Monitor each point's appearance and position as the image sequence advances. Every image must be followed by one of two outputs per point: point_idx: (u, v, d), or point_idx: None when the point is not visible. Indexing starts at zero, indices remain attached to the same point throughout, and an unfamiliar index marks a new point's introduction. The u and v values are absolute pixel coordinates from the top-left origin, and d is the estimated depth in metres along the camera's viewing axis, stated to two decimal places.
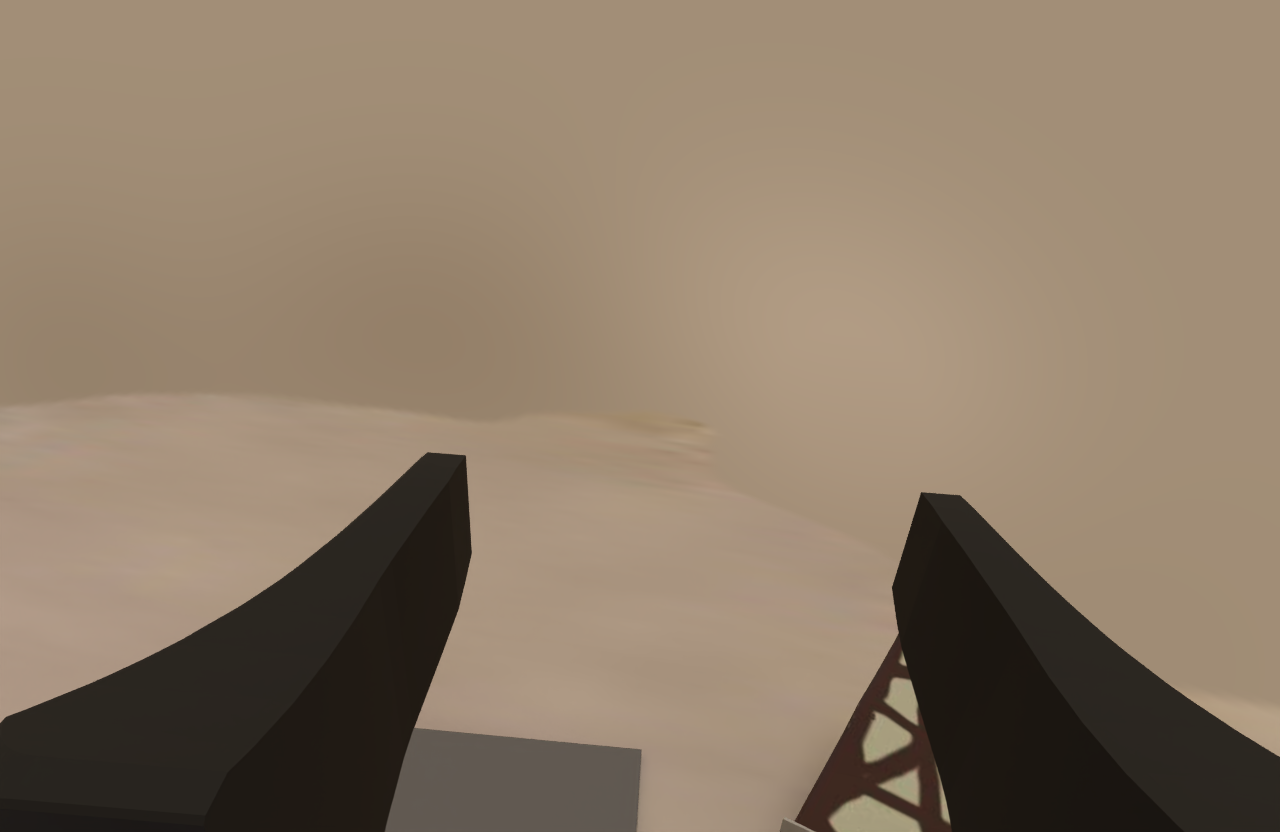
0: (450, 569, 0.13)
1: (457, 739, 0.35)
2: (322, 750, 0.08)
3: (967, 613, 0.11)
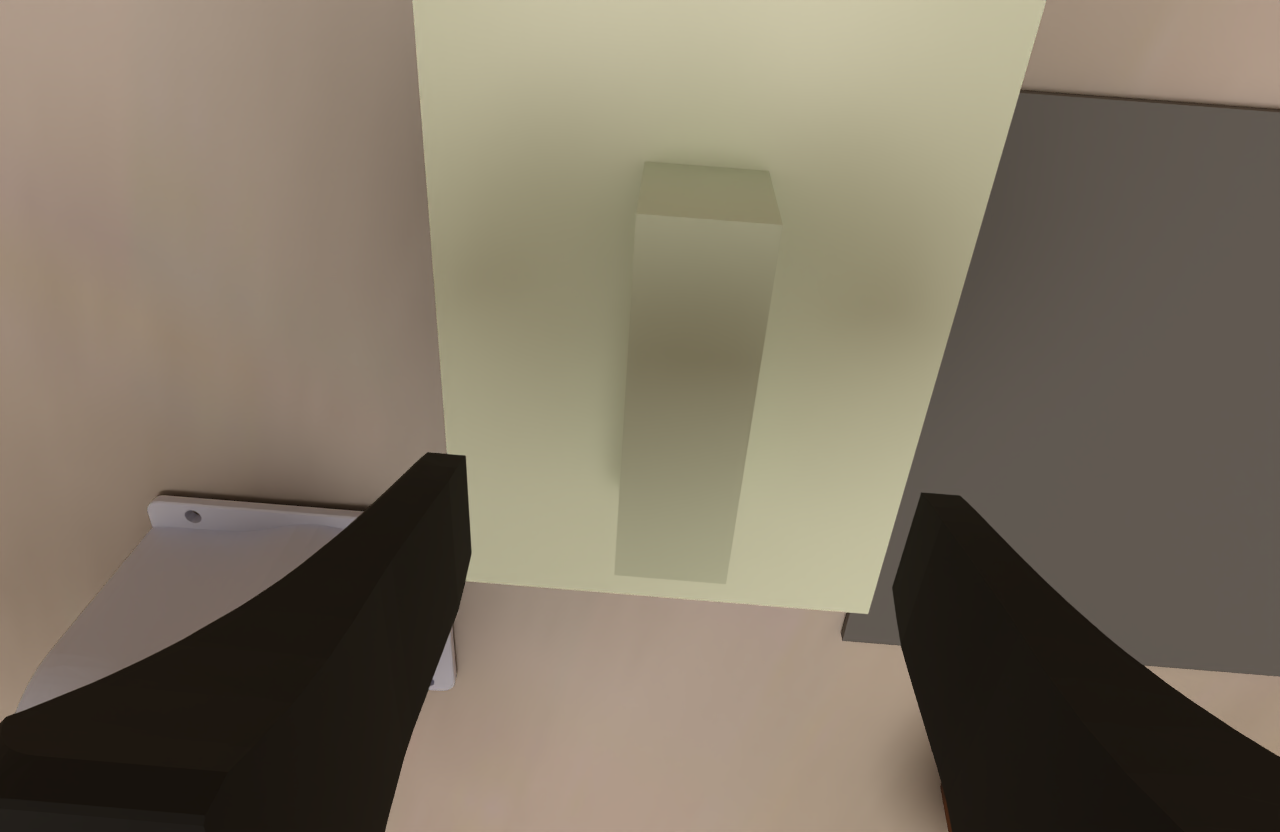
0: (450, 569, 0.13)
1: None
2: (322, 750, 0.08)
3: (967, 613, 0.11)
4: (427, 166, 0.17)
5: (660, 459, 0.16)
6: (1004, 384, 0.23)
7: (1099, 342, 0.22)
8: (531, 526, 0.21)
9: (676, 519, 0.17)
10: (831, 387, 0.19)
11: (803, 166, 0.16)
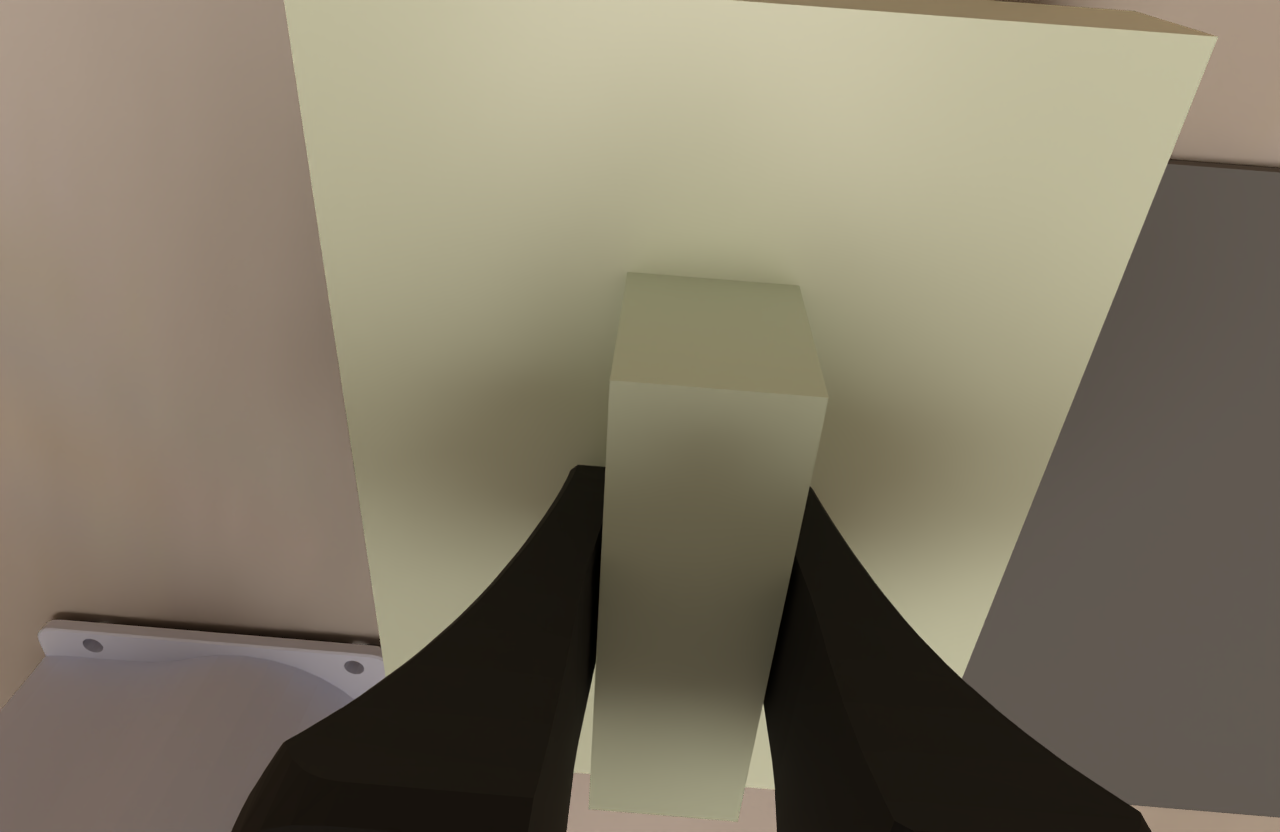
0: None
1: None
2: (555, 770, 0.08)
3: (789, 598, 0.11)
4: (329, 274, 0.12)
5: (649, 683, 0.12)
6: (1080, 508, 0.19)
7: (1203, 461, 0.18)
8: None
9: (671, 750, 0.13)
10: (876, 550, 0.14)
11: (848, 279, 0.12)
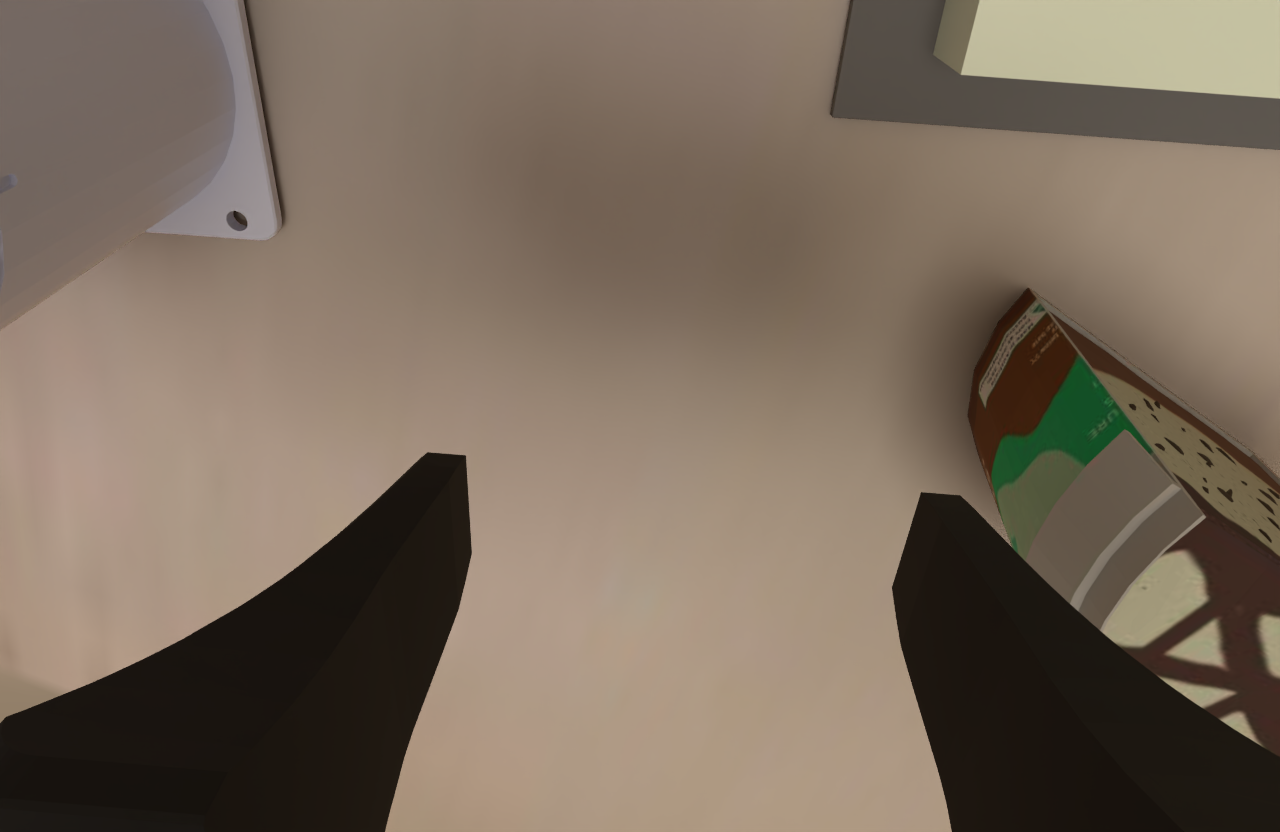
0: (450, 569, 0.13)
1: None
2: (322, 750, 0.08)
3: (967, 613, 0.11)
4: None
5: None
6: None
7: None
8: None
9: None
10: None
11: None
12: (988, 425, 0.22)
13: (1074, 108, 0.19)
